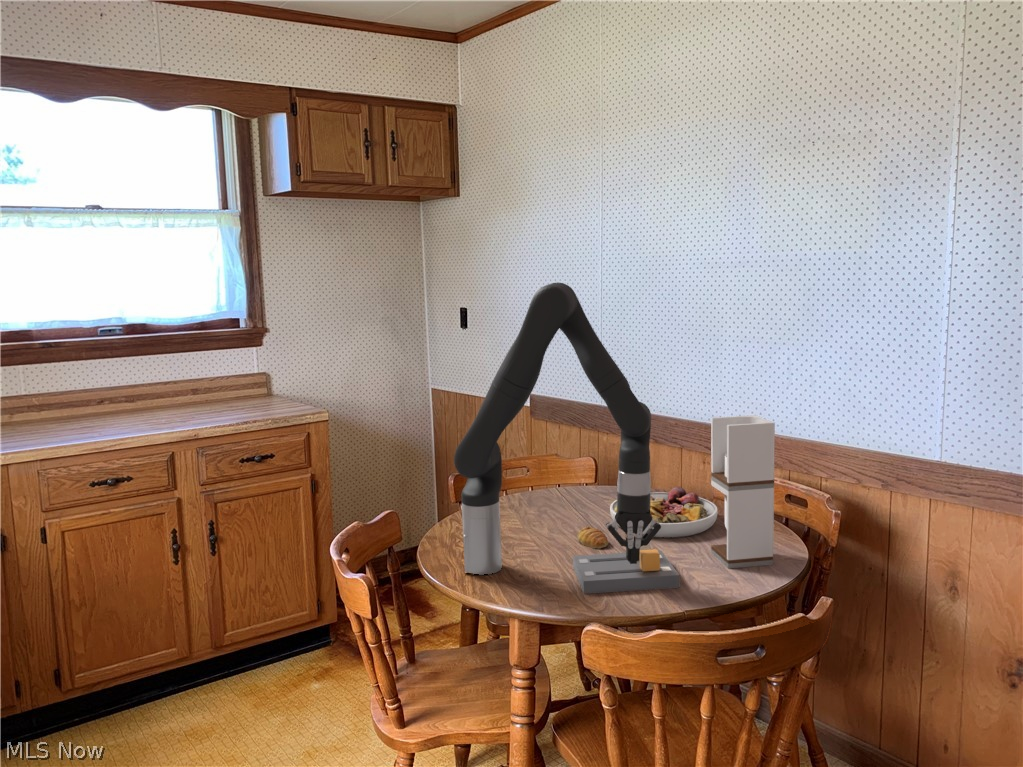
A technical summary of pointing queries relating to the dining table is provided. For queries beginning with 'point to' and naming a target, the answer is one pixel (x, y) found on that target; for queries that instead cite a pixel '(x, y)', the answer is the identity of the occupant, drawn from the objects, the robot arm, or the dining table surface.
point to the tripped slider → (649, 560)
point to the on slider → (645, 547)
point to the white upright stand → (744, 488)
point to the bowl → (678, 513)
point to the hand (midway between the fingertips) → (632, 562)
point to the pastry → (592, 538)
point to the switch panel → (621, 574)
